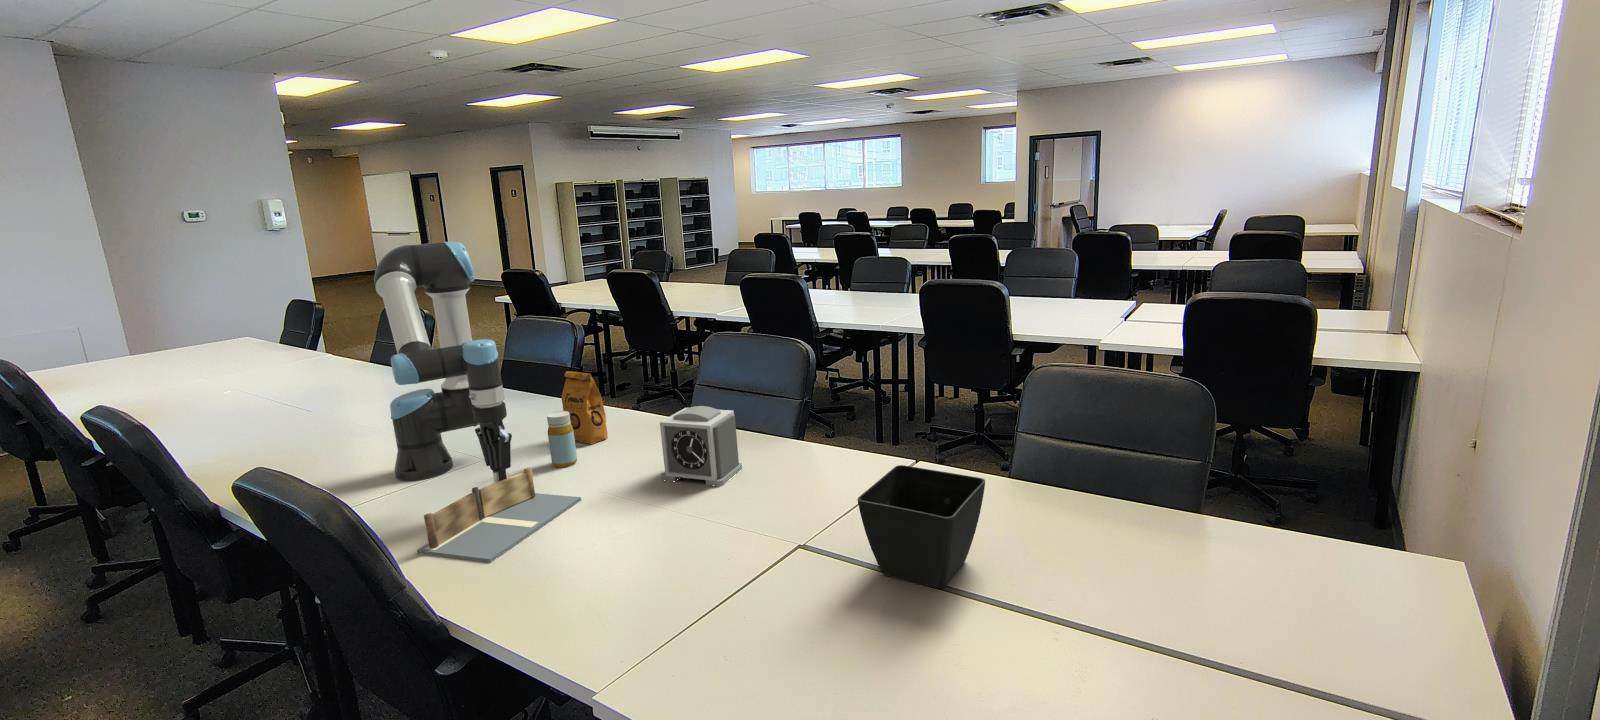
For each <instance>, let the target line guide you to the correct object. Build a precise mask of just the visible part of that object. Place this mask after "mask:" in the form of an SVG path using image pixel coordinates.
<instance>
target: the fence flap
mask: <svg viewBox="0 0 1600 720" xmlns="http://www.w3.org/2000/svg"><path fill="white" fill-rule="evenodd" d="M478 489H479V495H480V501H481V507H482V513H483V517H487V516H489V515H491V514H494V513H496V512H498V511H501V510H503V509H506V508H508V507H510V506H513V505H515V504H517V503H520V502H522V501H524V500H527V499H529V498H532V497H535V493H536V492H535V491H536V490H535V484H534V478H533V470H532V467H526V468H524V469H523V471H522V472H520V473H518V474H515V475H513V476H510V477H507V479H504V480H502V481H499V482H497V483H494V482H493V483H492V484H489V485H487V486H484V487H481V488H478Z"/></svg>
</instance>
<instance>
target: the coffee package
mask: <svg viewBox="0 0 1600 720" xmlns="http://www.w3.org/2000/svg"><path fill="white" fill-rule="evenodd" d="M564 377H565V378H566V379H565V382H564V386H563V389H562V393H561V397H560V398H561V403H562V411H568V412H569V414H570V422H571V425H572V427H573V431H574V439H575V441H578V442H580V443H584V444H590V445H594V444H595V443H596V442H597V443H599V442H598V441H600V442H602V441H605V440H607V439H608V438H609V437H608V436H609V435H608V429H607V416H606V412H605V407H604V404H603V399H602V395H601V393H600V391H599V388H598V387H597V385H596V382H595V380H594V378H593V376H592V374H591V373H586V372H585V373H584V372H579V371H567V370H566V371H565V373H564ZM607 437H608V438H607ZM606 438H607V439H606ZM604 439H605V440H604ZM601 440H602V441H601Z"/></svg>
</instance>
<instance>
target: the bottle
mask: <svg viewBox="0 0 1600 720" xmlns="http://www.w3.org/2000/svg"><path fill="white" fill-rule="evenodd" d="M546 419H547V421H546V422H547V426H548V427H547V438H548V446H549V453H550V460H551V465H552V466H554V467H555V468H558V467H560V468H568V466H569V467H571V466H574V465H575V464H576V462H578V454H577V448H576V440H575V439H574V431H573V427H572V425H571V422H570V414H569V412H568V411H563V410H560V411H559V410H558V411H554V412H550V413H549V414H547V415H546Z"/></svg>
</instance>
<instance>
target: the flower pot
mask: <svg viewBox="0 0 1600 720" xmlns="http://www.w3.org/2000/svg"><path fill="white" fill-rule="evenodd" d="M985 487H986V479H984V478H982V477H976V476H971V475H966V474H960V473H959V474H958V473H953V472H947V471H946V472H945V471H941V470H934V469H928V468H923V467H917V466H909V465H903V464H902V465H901V464H898V465H895V466H894V467H893V468H892V469H891V470H889V471H888V472H887V473H886V474H885V475H883V476H882V477H881V478H880V479H878V480H877V481H876V482H875V483H874V484H873V485H872V486H870V487H869V488H868V489H866V490H865V491H864V492H863V493H862V494H860V495H859V496H858V497H857V505H858V509H859V513H860V517H861V522H862V525H863V529H864V532H865V535H866V538H867V541H868V544H869V547H870V549H871V552H872V554H873V556H874V558H875V560H876V562H877V565H878V567H879V569H880V571H881V573H882V574H883V576H886V577H887V576H888V577H891V578H893V579H898V580H902V581H906V582H911V583H914V584H918V585H922V586H926V587H929V588H934V589H938V590H940V589H945V587H946V586H947V585H948V583H950V581H951V580H952V578H953V577H954V576H955V575H956V574H957V572H958V571H959V569H961V567H962V566H963V565H964V563H965V562H966V560H967V557H968V555H969V552H970V550H971V546H972V543H973V540H974V537H975V533H976V532H977V531H976V530H977V527H978V523H979V519H980V515H981V509H982V505H983V500H984V499H983V498H984V493H985Z"/></svg>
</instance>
